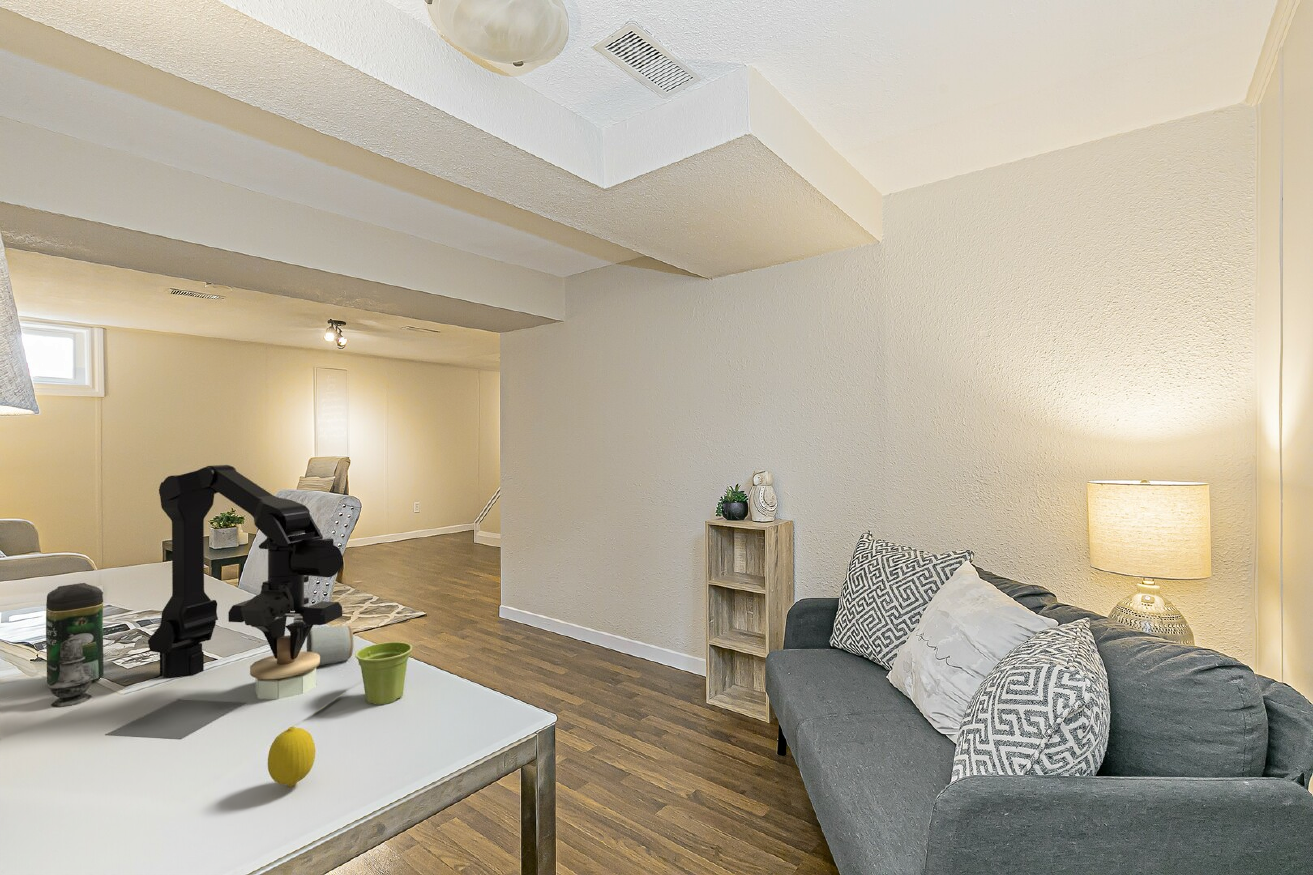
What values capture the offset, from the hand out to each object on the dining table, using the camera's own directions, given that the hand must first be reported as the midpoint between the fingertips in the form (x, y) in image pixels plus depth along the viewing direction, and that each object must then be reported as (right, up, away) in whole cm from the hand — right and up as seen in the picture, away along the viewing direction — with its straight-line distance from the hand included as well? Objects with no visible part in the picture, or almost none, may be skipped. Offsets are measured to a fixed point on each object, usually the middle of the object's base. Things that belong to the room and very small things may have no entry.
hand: (286, 658), depth 113 cm
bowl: (0, -6, 0) cm, 6 cm away
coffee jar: (-44, -7, +6) cm, 45 cm away
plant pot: (+19, -7, -2) cm, 20 cm away
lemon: (+19, -7, -30) cm, 36 cm away
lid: (0, -2, 0) cm, 2 cm away
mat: (-10, -6, -12) cm, 17 cm away
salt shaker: (-36, -7, -3) cm, 37 cm away
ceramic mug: (-1, -7, +17) cm, 18 cm away
